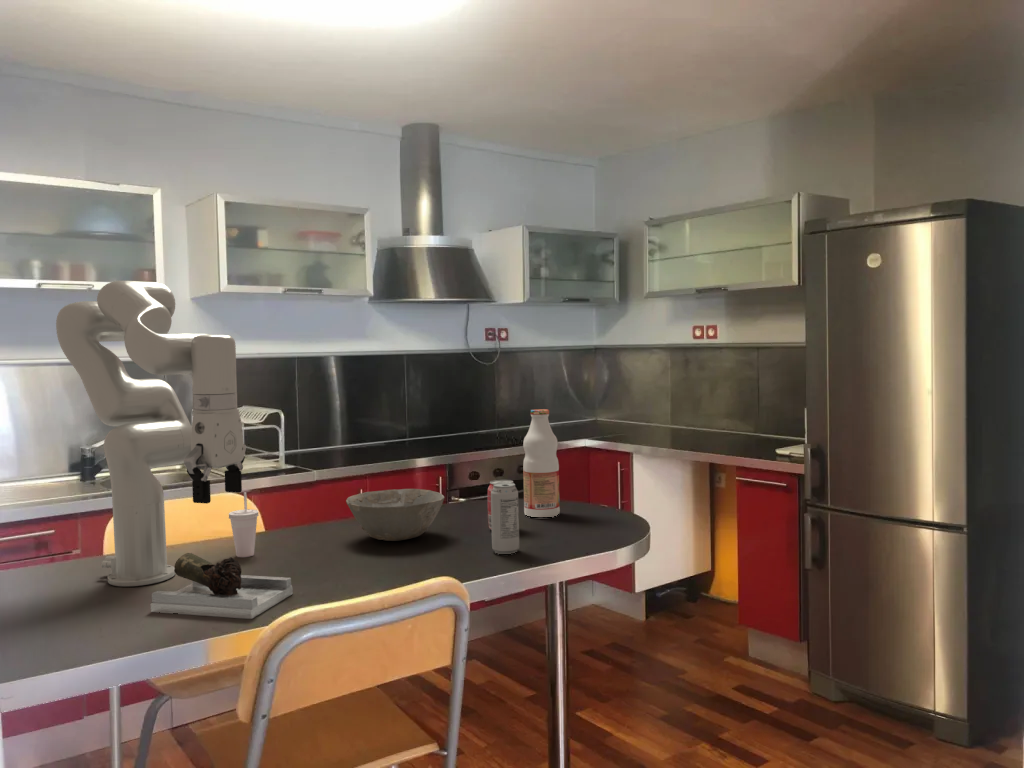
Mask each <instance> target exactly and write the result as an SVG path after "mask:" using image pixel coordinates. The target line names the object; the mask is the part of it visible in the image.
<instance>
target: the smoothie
mask: <svg viewBox="0 0 1024 768" xmlns="http://www.w3.org/2000/svg"><path fill="white" fill-rule="evenodd" d="M247 500H248V497H247V492H245V491H244V492H243V502H244V503H243V504H244V509H237V510H234V511H230V512H229V513H228V519H230V520H229V521H230V525H231V530H232V537H233V542H234V548H235V555H236V557H237V558H249V557H252V556H254V555H255V547H256V536H257V526H258V525H257V523H258V522H257V521H258V517H259V516H260V514H259V510H257V509H248V502H247Z"/></svg>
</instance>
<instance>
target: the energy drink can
mask: <svg viewBox="0 0 1024 768" xmlns="http://www.w3.org/2000/svg"><path fill="white" fill-rule="evenodd" d="M493 486H494V487H493V489H492V491H491V524H492V530H491V547H492V548H491V549H492V550H493V551H494V554H496V553H498V554H497V555H499V554H511V553H515V552H518V550H519V549H520V523H519V521H520V520H519V518H520V517H519V513H520V512H519V511H520V510H519V491H518V489H517V487H516V484H515V483H514V482H513V483H496V484H494V485H493ZM515 554H516V553H515ZM511 555H512V554H511Z"/></svg>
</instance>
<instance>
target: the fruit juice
mask: <svg viewBox="0 0 1024 768" xmlns="http://www.w3.org/2000/svg"><path fill="white" fill-rule="evenodd" d="M529 413H530V417H531V421H530V425H529V428H528V431H527V433H526V435H525V436H524V438H523V444H522V447H523V451H524V458H523V463H522V464H523V465H522V466H523V467H522V471H523V472H522V473H523V474H522V475H523V477H522V478H523V512H524V516H525V515H527V516H531V517H552V518H555V517H554V516H556V517H558V516H559V515H560V511H561V509H560V471H559V470H560V464H559V459H558V457H557V456H558V455H557V450H558V446H559V445H558V438H557V436H556V435H555V434H554V432H553V429H552V427H551V424H550V421H549V416H550V410H549V409H545V408H543V409H539V408H538V409H530V412H529ZM558 514H559V515H558ZM557 515H558V516H557ZM527 516H526V517H527Z"/></svg>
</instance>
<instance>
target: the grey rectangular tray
mask: <svg viewBox="0 0 1024 768" xmlns="http://www.w3.org/2000/svg"><path fill="white" fill-rule="evenodd" d="M191 582H192V583H189V584H188V585H186V586H184V587H181V588H179V589H178V590H176V591H170V590H169V591H166V590H156V591H154V592H152V593H151V603H150V612H151V613H159V612H160V613H161V614H173V613H178V615H190V616H191V615H192V616H207V617H216V618H232V619H233V618H235V619H247V620H252V619H254V618H256V617H257V616H258V615H261V614H262V613H264V612H265V611H267V610H269V609H270V608H272V607H273V606H275V605H277V604H278V603H280V602H282V601H284V600H285V599H287V598H288V597H290V596H291V595H293V594H294V593H293V591H294V590H293V585H292V578H291V577H283V576H281V577H280V576H266V575H260V576H259V575H247V574H241V582H242V583H241V589H236V590H237V593H238V594H237V595H218V594H214V593H213V592H212V591H211V590H210V589H209V587H207V586H204V585H202V584H199V583H197V582H194V581H191Z"/></svg>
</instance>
